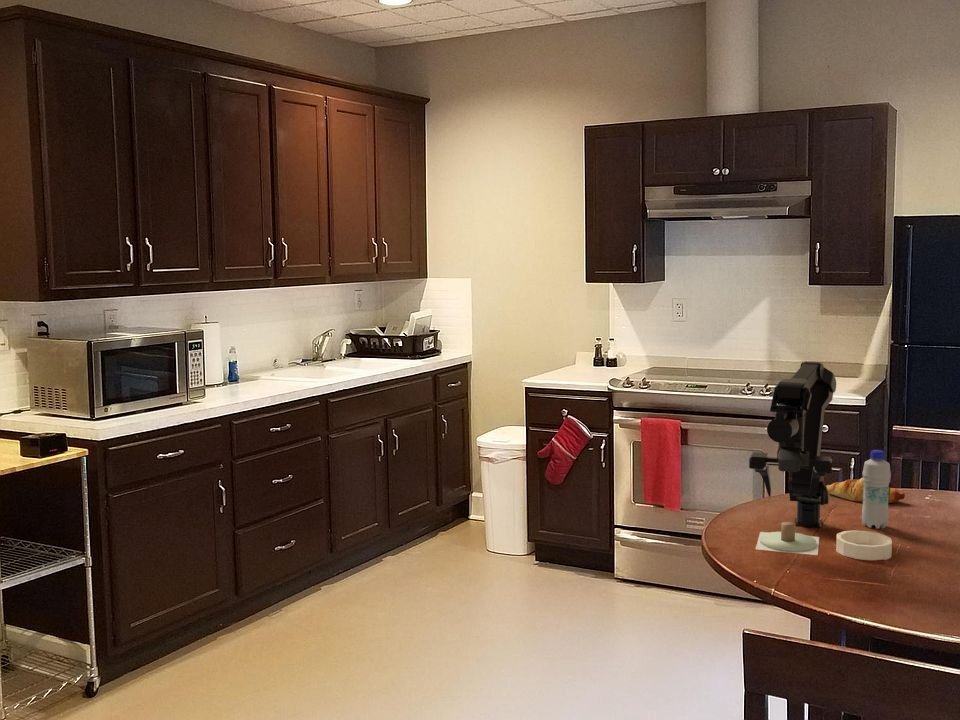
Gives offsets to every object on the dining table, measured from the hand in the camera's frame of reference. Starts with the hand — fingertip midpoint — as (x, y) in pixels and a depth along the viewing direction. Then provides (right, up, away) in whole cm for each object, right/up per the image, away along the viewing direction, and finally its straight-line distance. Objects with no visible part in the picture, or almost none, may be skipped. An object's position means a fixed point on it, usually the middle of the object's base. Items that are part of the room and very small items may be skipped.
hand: (789, 497), depth 235 cm
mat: (0, -12, +2) cm, 12 cm away
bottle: (+26, -10, +14) cm, 31 cm away
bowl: (+16, -12, -5) cm, 21 cm away
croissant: (+34, -6, +40) cm, 53 cm away
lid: (0, -11, +2) cm, 11 cm away
